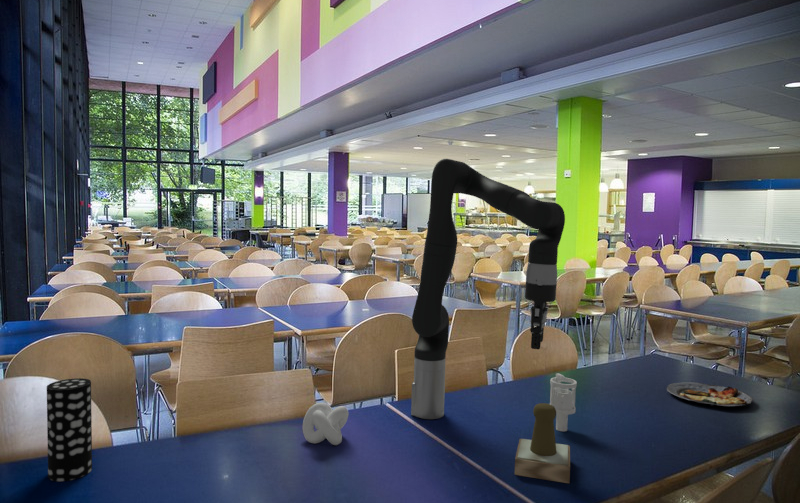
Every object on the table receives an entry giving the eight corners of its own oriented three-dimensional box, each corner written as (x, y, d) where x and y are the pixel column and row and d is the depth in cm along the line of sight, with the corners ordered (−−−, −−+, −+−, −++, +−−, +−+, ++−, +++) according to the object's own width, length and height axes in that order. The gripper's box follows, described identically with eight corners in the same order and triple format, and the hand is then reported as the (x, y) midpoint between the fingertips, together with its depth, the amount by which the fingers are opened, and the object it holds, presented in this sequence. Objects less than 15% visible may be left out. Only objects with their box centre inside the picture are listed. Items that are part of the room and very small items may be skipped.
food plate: (752, 395, 182) (752, 385, 182) (754, 417, 162) (754, 405, 162) (670, 384, 195) (671, 375, 195) (663, 403, 176) (663, 392, 176)
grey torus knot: (331, 427, 147) (332, 395, 146) (360, 441, 138) (360, 407, 138) (297, 438, 139) (297, 405, 138) (324, 453, 130) (325, 417, 130)
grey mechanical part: (567, 423, 153) (569, 372, 152) (579, 433, 146) (581, 380, 145) (544, 425, 152) (546, 373, 151) (555, 434, 145) (557, 380, 144)
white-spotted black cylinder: (61, 464, 122) (59, 378, 121) (98, 463, 123) (98, 378, 121) (39, 481, 114) (38, 390, 112) (80, 481, 114) (79, 389, 113)
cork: (557, 457, 122) (559, 410, 121) (530, 454, 123) (532, 408, 122) (555, 446, 128) (557, 401, 127) (529, 443, 129) (531, 399, 128)
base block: (514, 474, 122) (515, 457, 121) (519, 453, 133) (519, 437, 133) (569, 483, 118) (570, 466, 118) (569, 460, 129) (569, 444, 129)
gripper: (528, 277, 141) (524, 337, 142) (522, 283, 128) (518, 349, 129) (558, 279, 139) (553, 341, 140) (555, 285, 125) (550, 353, 126)
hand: (536, 345), depth 134 cm, fingers open, 8 cm apart
